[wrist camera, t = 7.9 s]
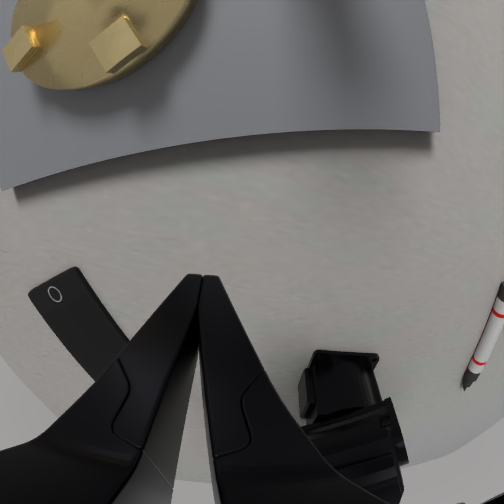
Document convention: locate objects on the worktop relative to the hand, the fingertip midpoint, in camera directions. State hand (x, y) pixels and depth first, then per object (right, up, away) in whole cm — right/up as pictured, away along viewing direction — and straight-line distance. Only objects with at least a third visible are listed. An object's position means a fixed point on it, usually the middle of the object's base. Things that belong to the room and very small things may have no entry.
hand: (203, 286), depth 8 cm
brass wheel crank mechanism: (-5, +20, +3) cm, 21 cm away
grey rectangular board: (-5, +19, +6) cm, 20 cm away
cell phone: (-14, -9, +20) cm, 26 cm away
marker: (+27, -9, +18) cm, 33 cm away
